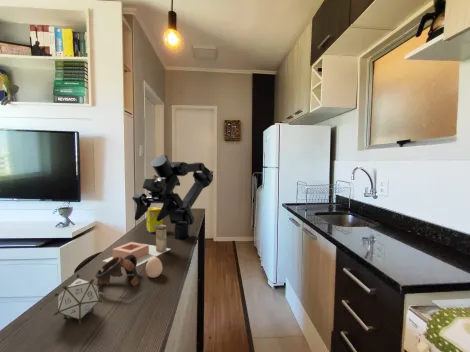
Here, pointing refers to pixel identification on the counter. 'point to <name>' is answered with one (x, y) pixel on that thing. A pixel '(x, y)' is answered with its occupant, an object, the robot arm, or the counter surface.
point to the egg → (154, 267)
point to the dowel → (161, 238)
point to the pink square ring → (131, 250)
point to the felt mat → (147, 257)
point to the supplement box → (152, 219)
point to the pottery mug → (118, 269)
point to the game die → (78, 298)
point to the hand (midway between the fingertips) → (146, 220)
